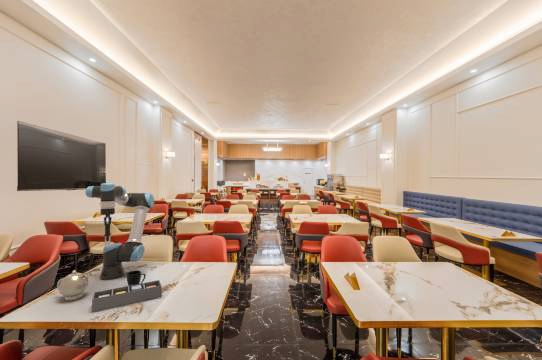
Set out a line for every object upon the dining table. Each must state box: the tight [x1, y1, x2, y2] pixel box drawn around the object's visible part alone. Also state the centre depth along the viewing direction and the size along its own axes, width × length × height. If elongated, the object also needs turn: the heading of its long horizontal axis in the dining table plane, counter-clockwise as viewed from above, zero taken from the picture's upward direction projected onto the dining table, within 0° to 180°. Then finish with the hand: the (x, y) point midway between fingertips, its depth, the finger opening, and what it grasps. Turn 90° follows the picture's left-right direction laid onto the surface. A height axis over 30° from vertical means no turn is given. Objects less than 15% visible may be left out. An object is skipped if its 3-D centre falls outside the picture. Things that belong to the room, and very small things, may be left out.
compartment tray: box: [91, 279, 163, 313], centre depth 146 cm, size 10×34×7 cm, turn 121°
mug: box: [126, 270, 147, 286], centre depth 164 cm, size 8×12×10 cm
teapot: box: [56, 269, 89, 302], centre depth 149 cm, size 18×14×16 cm
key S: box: [131, 285, 142, 291], centre depth 148 cm, size 5×5×4 cm
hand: (107, 245), depth 156 cm, fingers closed
